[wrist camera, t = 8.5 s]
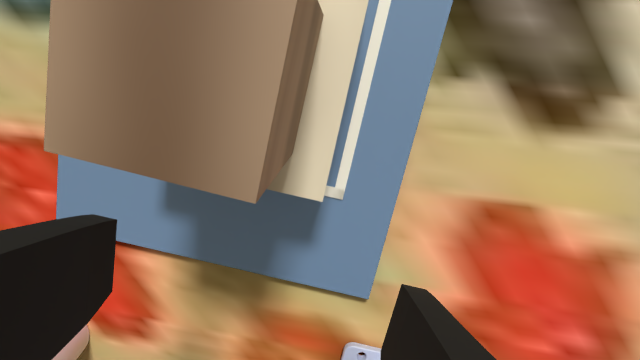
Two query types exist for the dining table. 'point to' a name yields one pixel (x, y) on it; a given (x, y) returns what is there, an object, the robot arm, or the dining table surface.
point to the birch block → (323, 100)
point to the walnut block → (181, 87)
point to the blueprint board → (284, 209)
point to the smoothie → (74, 346)
